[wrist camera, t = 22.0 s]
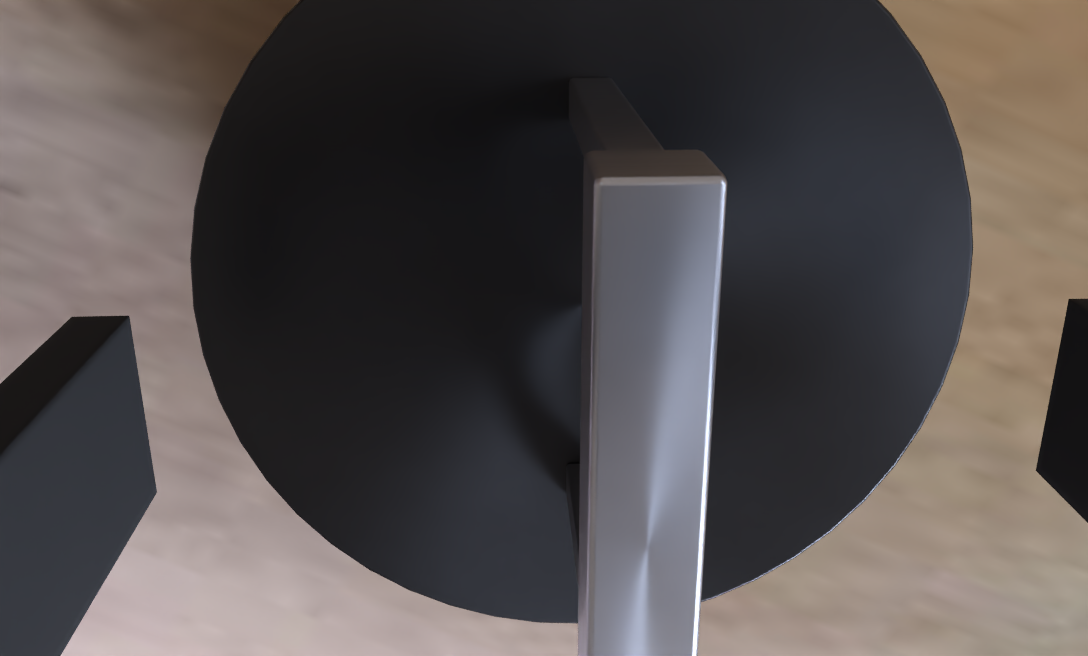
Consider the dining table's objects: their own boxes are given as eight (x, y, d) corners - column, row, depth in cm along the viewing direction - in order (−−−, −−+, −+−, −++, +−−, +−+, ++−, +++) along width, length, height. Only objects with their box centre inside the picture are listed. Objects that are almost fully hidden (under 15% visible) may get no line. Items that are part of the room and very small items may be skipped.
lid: (249, 598, 21) (97, 1018, 13) (158, -120, 16) (-174, -160, 8) (899, 580, 22) (1140, 971, 14) (1000, -120, 17) (1470, -159, 9)
